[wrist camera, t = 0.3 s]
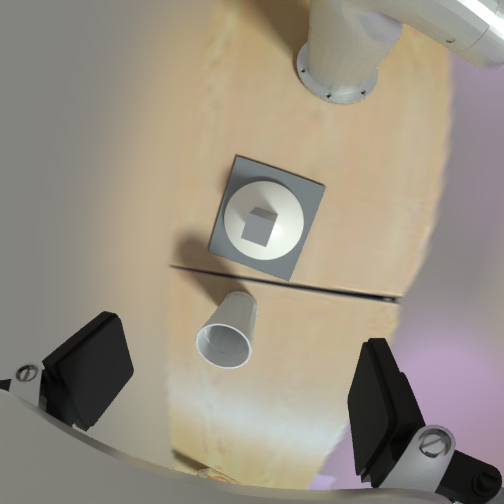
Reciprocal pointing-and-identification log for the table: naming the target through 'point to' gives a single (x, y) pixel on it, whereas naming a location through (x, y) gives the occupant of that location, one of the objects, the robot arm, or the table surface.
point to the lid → (264, 220)
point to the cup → (229, 332)
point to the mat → (301, 188)
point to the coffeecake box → (215, 475)
